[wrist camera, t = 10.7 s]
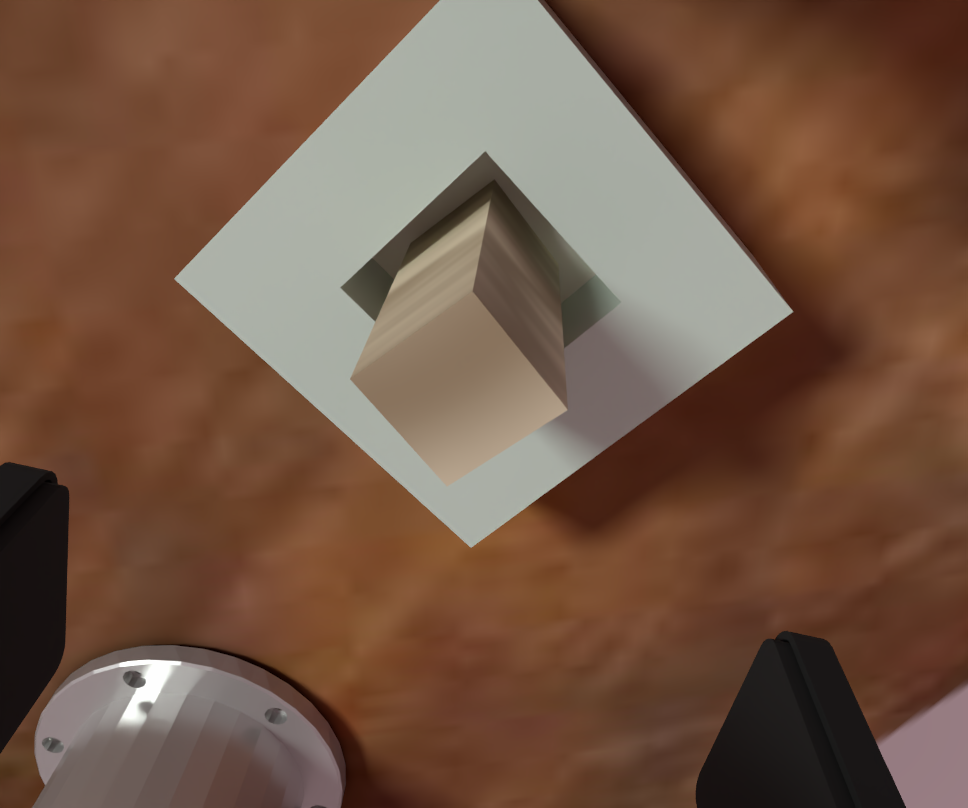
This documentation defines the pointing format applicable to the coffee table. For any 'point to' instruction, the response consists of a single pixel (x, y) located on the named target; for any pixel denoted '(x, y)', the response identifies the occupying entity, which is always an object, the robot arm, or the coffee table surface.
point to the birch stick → (469, 338)
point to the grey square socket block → (543, 204)
